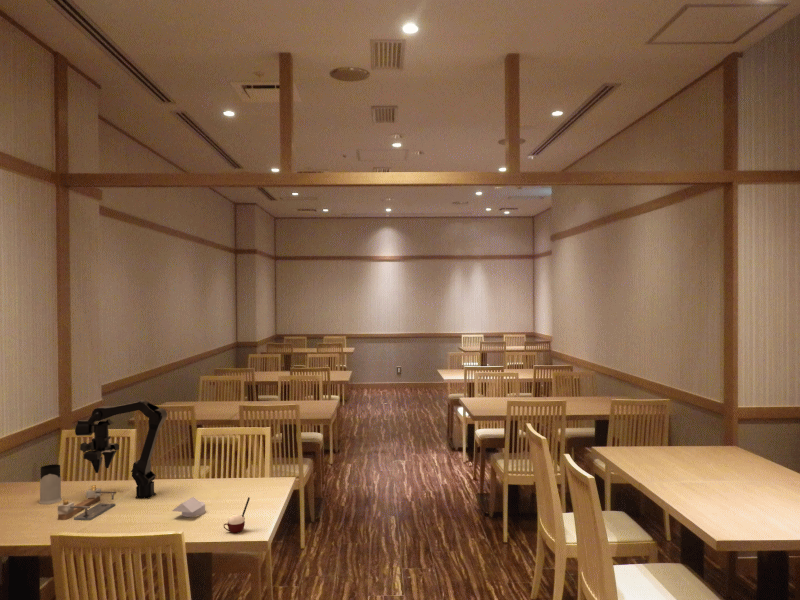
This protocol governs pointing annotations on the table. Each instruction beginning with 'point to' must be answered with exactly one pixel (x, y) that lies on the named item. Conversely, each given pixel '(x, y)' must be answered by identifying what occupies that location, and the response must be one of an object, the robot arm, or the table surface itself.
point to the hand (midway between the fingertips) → (102, 470)
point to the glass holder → (50, 484)
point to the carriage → (97, 492)
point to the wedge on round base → (191, 508)
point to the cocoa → (236, 521)
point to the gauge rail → (74, 508)
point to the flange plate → (95, 511)
